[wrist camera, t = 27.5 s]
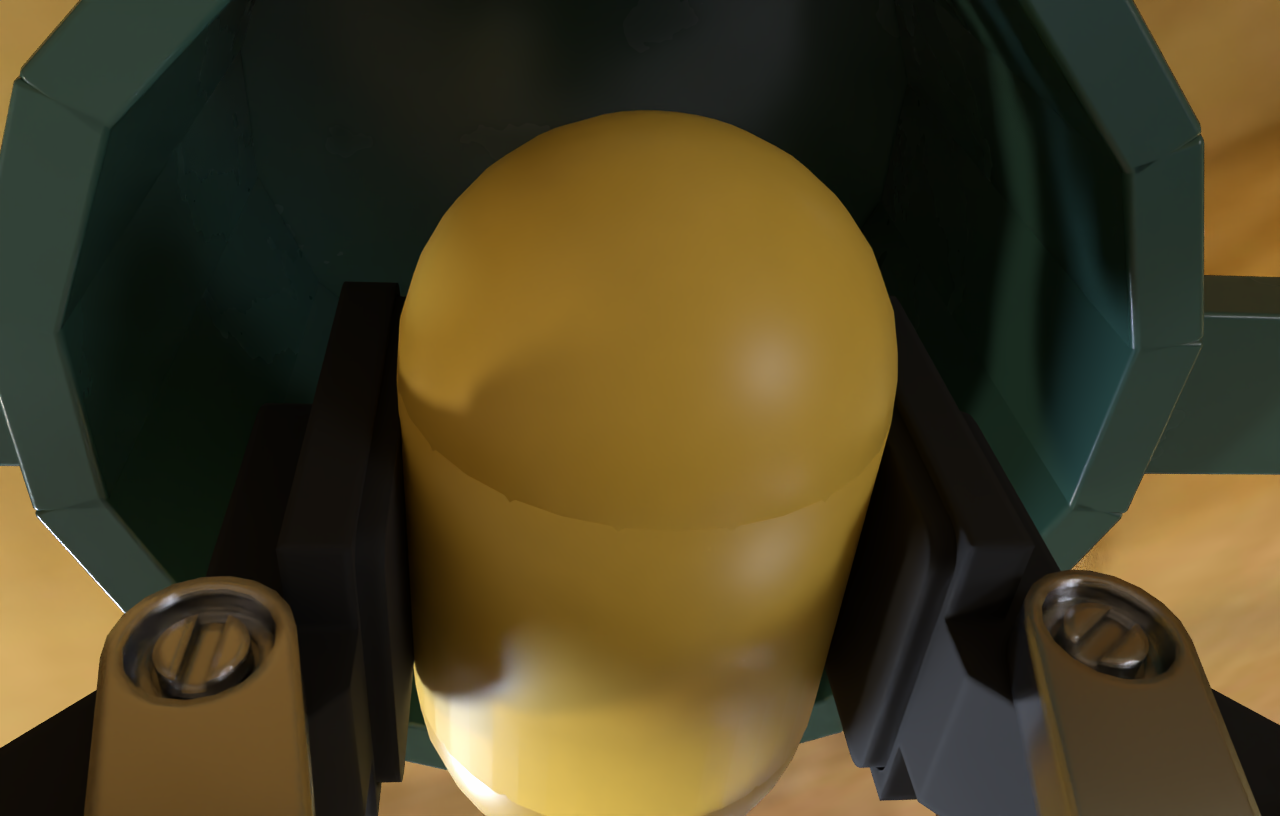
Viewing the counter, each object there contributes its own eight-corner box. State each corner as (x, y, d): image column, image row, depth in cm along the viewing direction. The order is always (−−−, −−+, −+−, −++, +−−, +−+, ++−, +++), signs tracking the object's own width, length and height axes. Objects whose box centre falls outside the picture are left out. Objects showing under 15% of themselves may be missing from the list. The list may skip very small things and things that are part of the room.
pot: (-82, -379, 14) (-706, -374, 7) (1197, -257, 16) (1737, -156, 9) (112, 402, 21) (-91, 801, 14) (977, 414, 24) (1179, 764, 16)
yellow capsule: (405, 26, 9) (347, 257, 6) (869, 51, 10) (1051, 275, 7) (432, 636, 14) (406, 959, 11) (749, 630, 15) (820, 938, 11)
